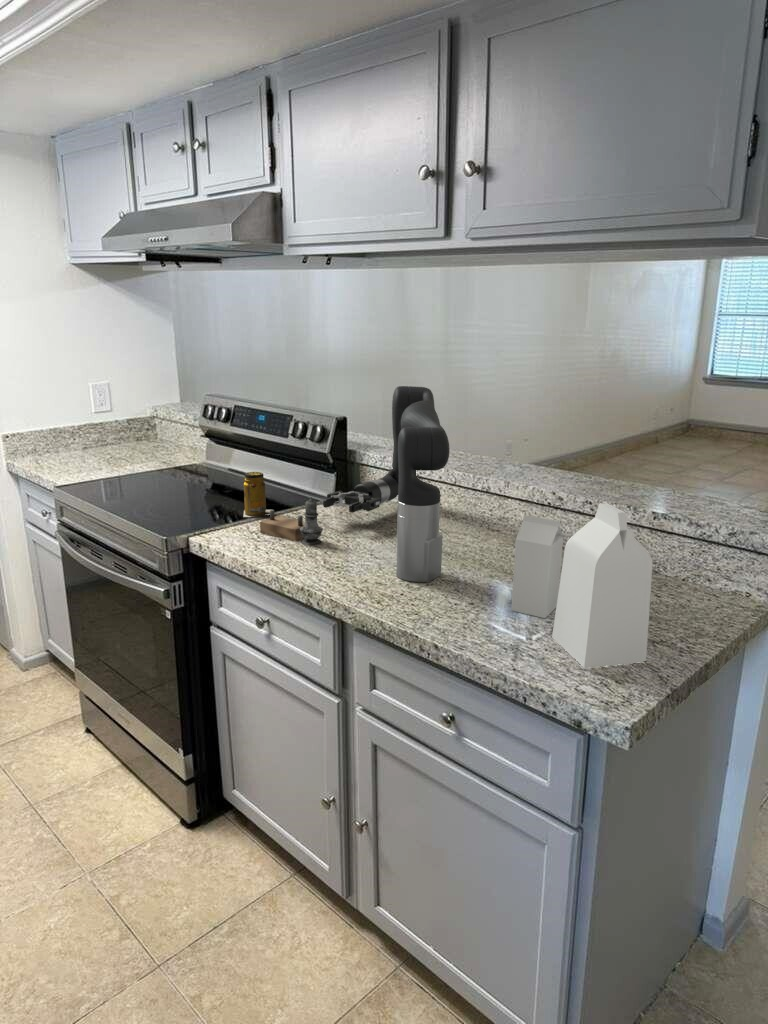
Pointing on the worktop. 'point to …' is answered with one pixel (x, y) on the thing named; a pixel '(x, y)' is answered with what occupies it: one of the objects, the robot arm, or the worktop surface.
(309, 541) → the salt shaker
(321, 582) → the worktop surface
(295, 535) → the walnut stand
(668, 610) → the worktop surface
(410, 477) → the robot arm
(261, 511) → the condiment
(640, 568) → the milk
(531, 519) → the milk carton
